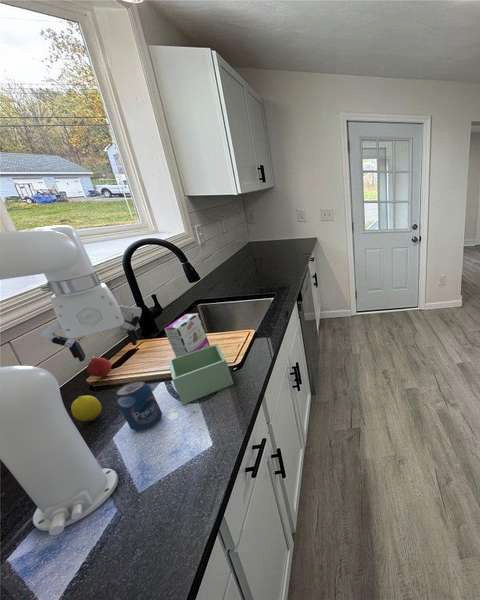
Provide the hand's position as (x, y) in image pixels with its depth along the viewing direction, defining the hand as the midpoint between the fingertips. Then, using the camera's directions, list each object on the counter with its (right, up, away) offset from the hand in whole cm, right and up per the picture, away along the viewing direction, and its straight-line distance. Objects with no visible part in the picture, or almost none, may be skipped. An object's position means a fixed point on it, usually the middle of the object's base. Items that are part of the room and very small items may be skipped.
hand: (110, 350), depth 75 cm
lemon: (-15, -21, +12) cm, 29 cm away
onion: (-31, -14, +31) cm, 46 cm away
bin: (+8, -14, +24) cm, 29 cm away
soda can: (+2, -21, +9) cm, 23 cm away
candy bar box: (-3, -10, +36) cm, 38 cm away
